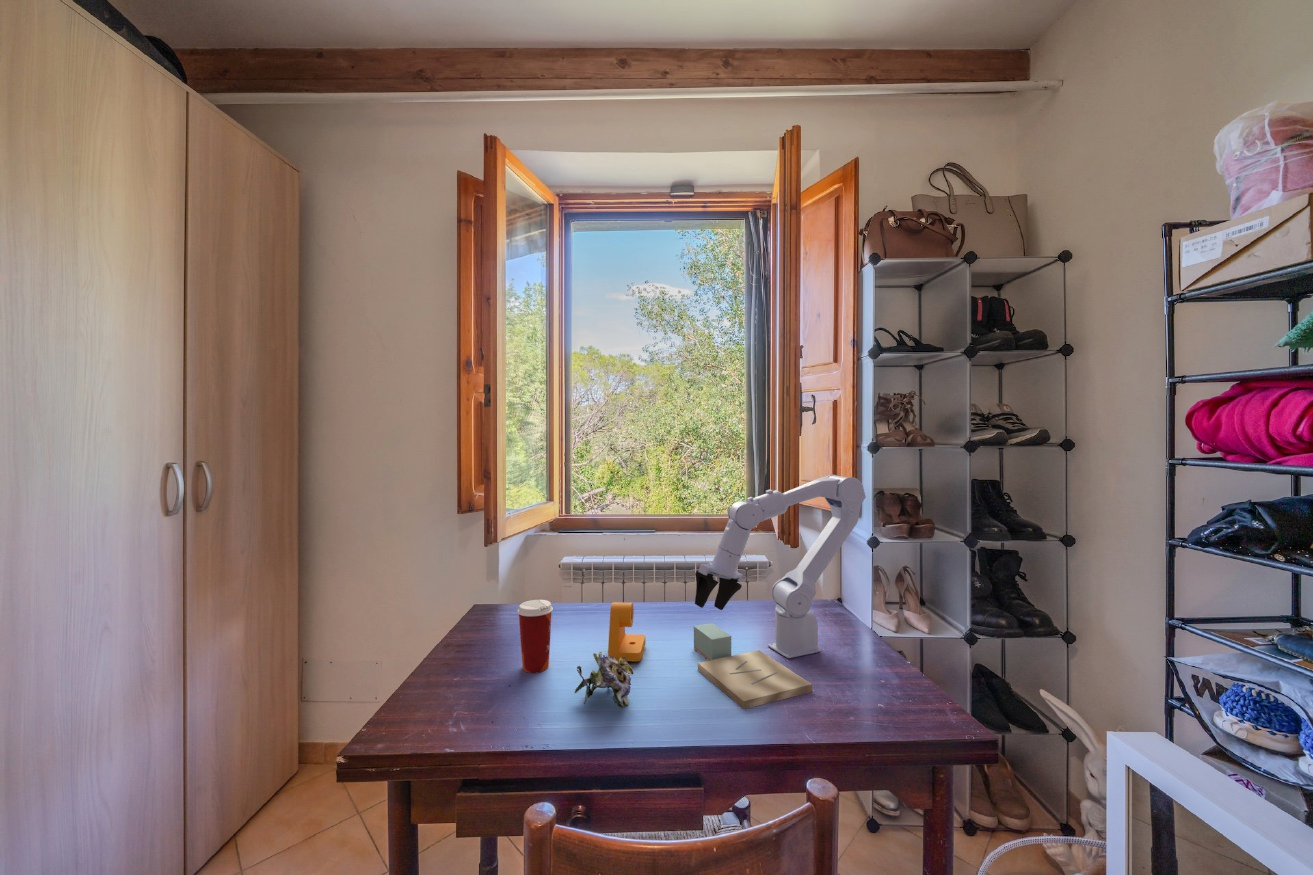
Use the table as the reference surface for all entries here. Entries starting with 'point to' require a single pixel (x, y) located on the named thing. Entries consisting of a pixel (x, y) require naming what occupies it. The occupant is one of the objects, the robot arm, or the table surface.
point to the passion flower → (609, 678)
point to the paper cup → (535, 634)
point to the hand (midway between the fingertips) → (708, 606)
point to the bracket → (618, 640)
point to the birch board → (753, 679)
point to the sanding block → (712, 641)
